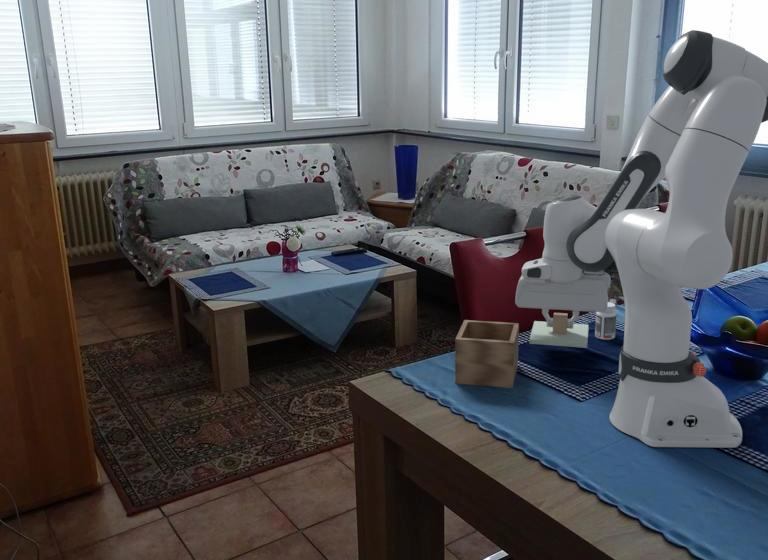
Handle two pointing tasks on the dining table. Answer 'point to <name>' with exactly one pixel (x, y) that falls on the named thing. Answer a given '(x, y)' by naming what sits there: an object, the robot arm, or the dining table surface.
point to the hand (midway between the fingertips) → (559, 327)
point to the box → (486, 353)
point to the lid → (559, 333)
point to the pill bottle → (606, 323)
